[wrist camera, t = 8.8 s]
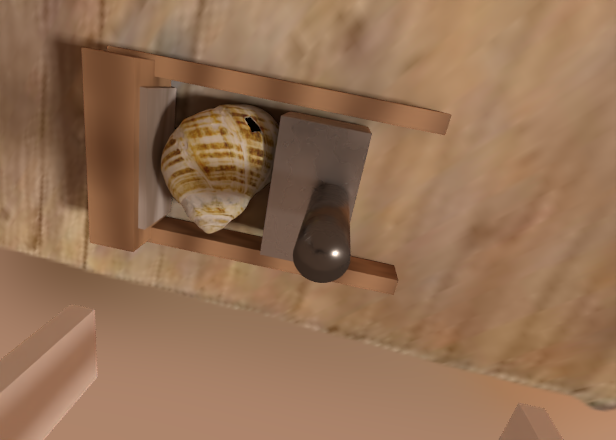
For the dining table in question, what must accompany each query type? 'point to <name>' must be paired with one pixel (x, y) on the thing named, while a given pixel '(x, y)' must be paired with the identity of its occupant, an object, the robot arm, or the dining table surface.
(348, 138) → the grey plunger
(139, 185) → the press frame
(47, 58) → the dining table surface
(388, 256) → the dining table surface
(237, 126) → the seashell
